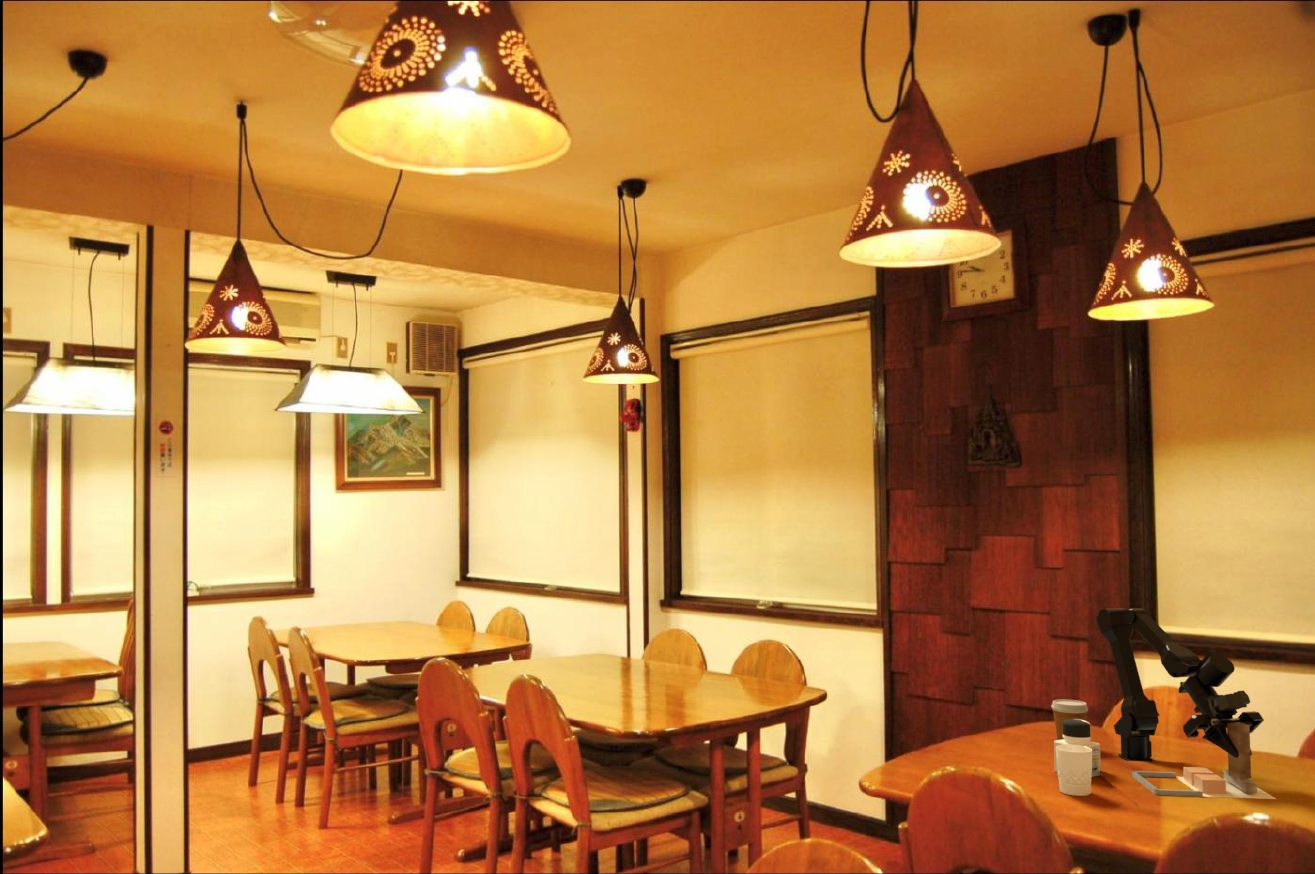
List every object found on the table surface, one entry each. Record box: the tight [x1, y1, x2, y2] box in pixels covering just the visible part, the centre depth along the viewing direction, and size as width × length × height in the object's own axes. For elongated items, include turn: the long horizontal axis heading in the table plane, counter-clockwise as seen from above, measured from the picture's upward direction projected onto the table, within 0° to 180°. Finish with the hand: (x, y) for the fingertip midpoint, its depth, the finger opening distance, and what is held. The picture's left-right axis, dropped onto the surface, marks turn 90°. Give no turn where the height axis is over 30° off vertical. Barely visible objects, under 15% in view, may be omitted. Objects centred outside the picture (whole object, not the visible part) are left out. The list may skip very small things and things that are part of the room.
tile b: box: [1182, 766, 1215, 786], centre depth 244 cm, size 5×5×3 cm
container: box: [1053, 719, 1102, 777], centre depth 257 cm, size 8×8×13 cm
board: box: [1176, 776, 1277, 800], centre depth 240 cm, size 16×17×1 cm
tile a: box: [1194, 774, 1226, 794], centre depth 237 cm, size 5×5×3 cm
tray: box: [1130, 770, 1204, 798], centre depth 241 cm, size 10×17×2 cm, turn 173°
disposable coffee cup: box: [1050, 699, 1089, 740], centre depth 285 cm, size 10×10×12 cm
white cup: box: [1056, 744, 1092, 797], centre depth 240 cm, size 8×8×10 cm
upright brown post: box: [1223, 722, 1258, 793], centre depth 240 cm, size 4×12×14 cm, turn 173°
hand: (1243, 756), depth 239 cm, fingers closed on upright brown post, 3 cm apart
